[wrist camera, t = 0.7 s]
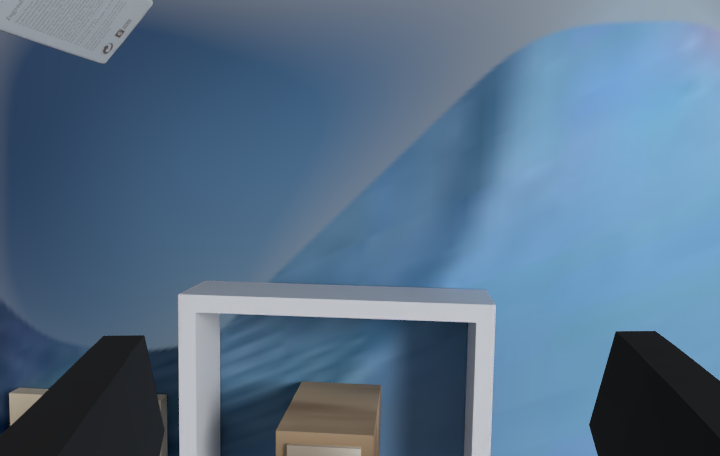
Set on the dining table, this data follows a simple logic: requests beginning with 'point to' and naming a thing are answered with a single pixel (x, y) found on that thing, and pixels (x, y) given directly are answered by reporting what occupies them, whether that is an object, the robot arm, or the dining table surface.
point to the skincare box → (74, 24)
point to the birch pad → (28, 396)
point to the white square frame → (320, 300)
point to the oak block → (331, 421)
